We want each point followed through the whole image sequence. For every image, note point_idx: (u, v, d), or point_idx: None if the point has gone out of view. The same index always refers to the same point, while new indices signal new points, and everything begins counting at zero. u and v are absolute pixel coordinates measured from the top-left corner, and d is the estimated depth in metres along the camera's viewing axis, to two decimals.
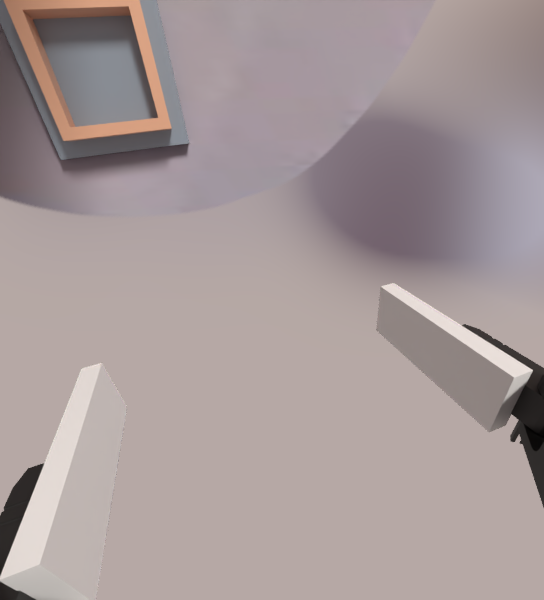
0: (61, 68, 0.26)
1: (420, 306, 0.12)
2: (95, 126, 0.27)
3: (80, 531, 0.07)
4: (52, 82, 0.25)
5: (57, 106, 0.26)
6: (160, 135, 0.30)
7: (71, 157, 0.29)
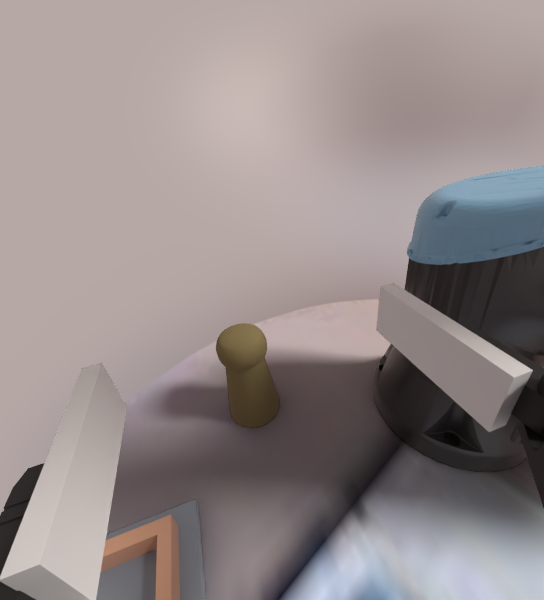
0: (119, 576, 0.21)
1: (420, 306, 0.12)
2: None
3: (80, 531, 0.07)
4: None
5: None
6: None
7: None
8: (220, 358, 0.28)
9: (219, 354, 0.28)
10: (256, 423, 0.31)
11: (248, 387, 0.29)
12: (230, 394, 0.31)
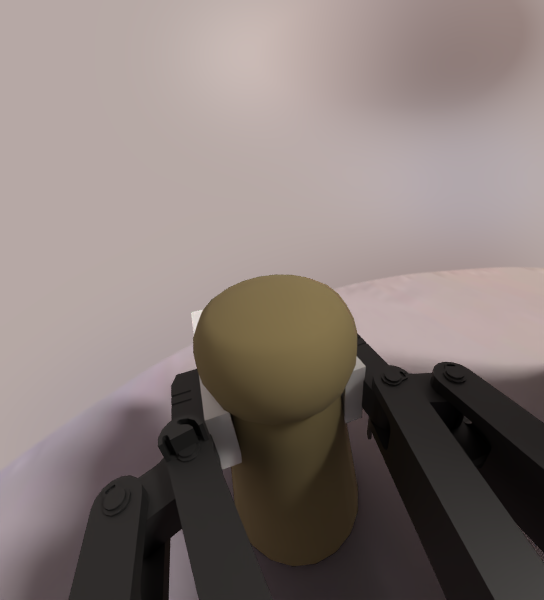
0: None
1: None
2: None
3: None
4: None
5: None
6: None
7: None
8: (206, 382, 0.08)
9: (202, 368, 0.08)
10: (309, 557, 0.11)
11: (296, 470, 0.09)
12: (237, 477, 0.11)
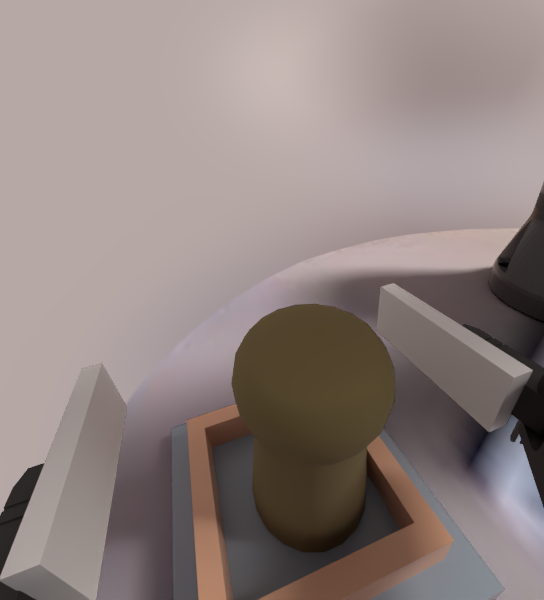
0: None
1: (420, 306, 0.12)
2: (206, 462, 0.15)
3: (80, 531, 0.07)
4: None
5: (230, 414, 0.17)
6: None
7: (173, 440, 0.19)
8: (264, 439, 0.08)
9: (261, 428, 0.08)
10: (338, 541, 0.13)
11: (338, 486, 0.10)
12: (272, 497, 0.11)
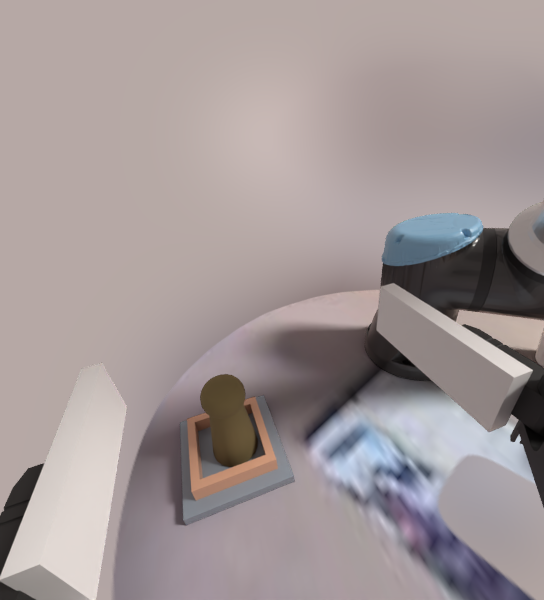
0: None
1: (420, 306, 0.12)
2: (194, 436, 0.37)
3: (80, 531, 0.07)
4: None
5: (206, 416, 0.40)
6: (191, 490, 0.34)
7: (180, 428, 0.41)
8: (213, 413, 0.31)
9: (211, 410, 0.31)
10: (248, 457, 0.36)
11: (238, 427, 0.33)
12: (220, 443, 0.34)
